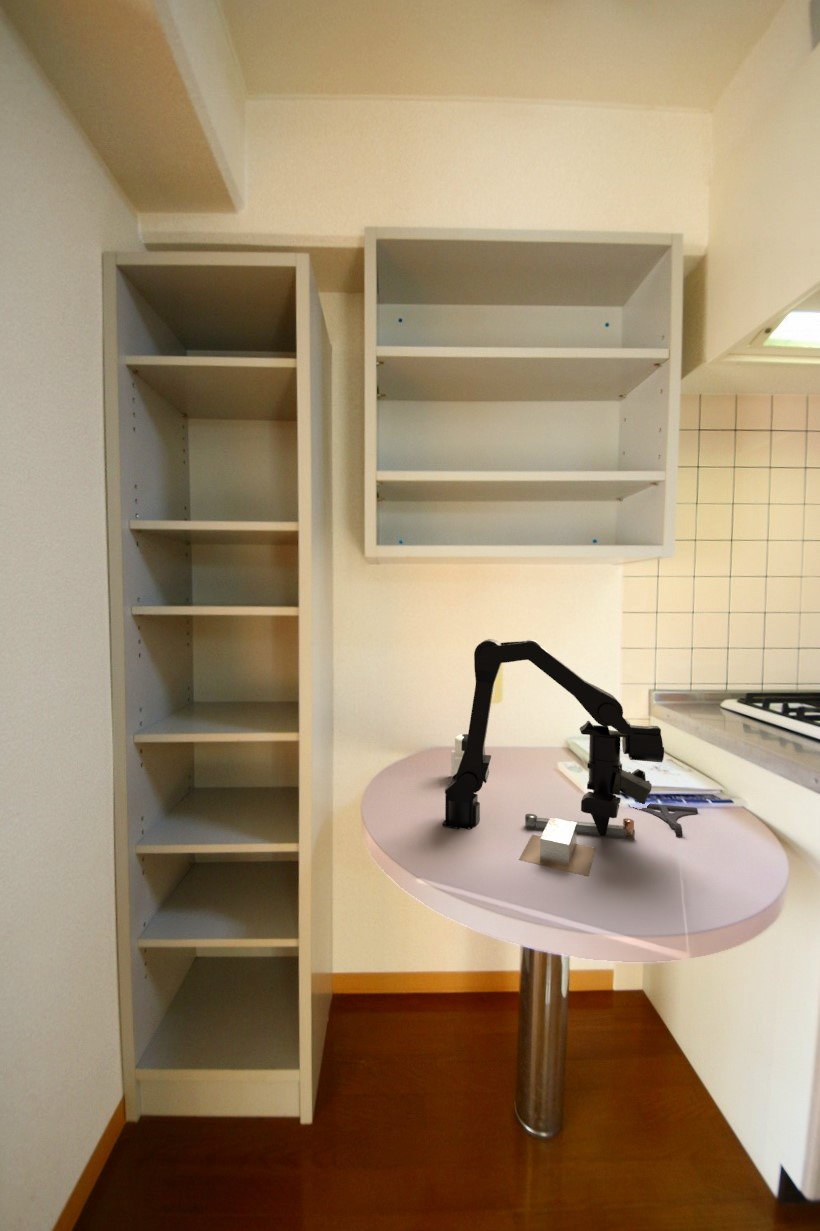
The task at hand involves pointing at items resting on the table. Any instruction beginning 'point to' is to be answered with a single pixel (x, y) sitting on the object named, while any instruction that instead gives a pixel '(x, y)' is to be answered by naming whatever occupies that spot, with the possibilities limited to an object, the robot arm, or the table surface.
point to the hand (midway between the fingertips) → (602, 835)
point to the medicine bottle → (458, 752)
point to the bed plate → (577, 864)
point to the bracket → (671, 814)
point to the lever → (586, 827)
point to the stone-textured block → (558, 841)
